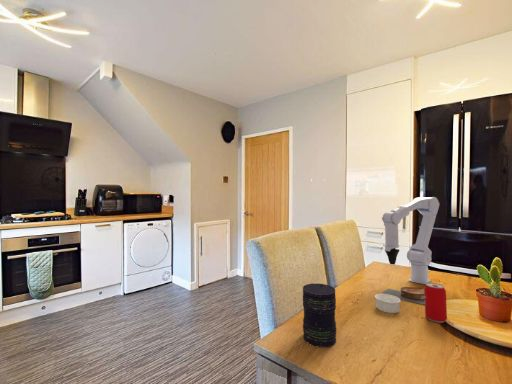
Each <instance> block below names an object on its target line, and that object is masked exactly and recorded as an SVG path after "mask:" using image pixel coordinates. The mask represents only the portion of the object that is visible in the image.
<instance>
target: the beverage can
mask: <svg viewBox="0 0 512 384" xmlns="http://www.w3.org/2000/svg"><path fill="white" fill-rule="evenodd" d="M423 288H424V293H425V305H424V315H425V316H424V317H426V318H427V320H430V321H431V322H433V323H439V324H442V323H445V322H447V321H446V319H447V320H448V314H447V313H448V309H447V307H448V306H447V291H446V288H445V286H444V284H440V283H437V282H436V283H435V282H429V283H426V284H425V285H424V287H423Z"/></svg>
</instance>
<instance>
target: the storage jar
mask: <svg viewBox="0 0 512 384" xmlns="http://www.w3.org/2000/svg"><path fill="white" fill-rule="evenodd" d="M336 299H337V298H336V289H335V287H333V286H331V285H329V284H325V283H324V284H323V283H307V284H305V285H303V287H302V307H303V318H302V331H303V335H302V336H303V337H304V338H303V337H302V338H303V340H304V342H306V343H307V342H308V343H309V344H308V343H307V344H308V345H310V344H311V345H310V346H312V345H313V346H312V347H315V346H318V347H317V348H319V347H322V348H321V349H326V347H327V348H331V347H333V346H335V345H336V343H337V322H336V310H337V309H336V308H337V306H336V303H337V300H336ZM323 347H324V348H323Z"/></svg>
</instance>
